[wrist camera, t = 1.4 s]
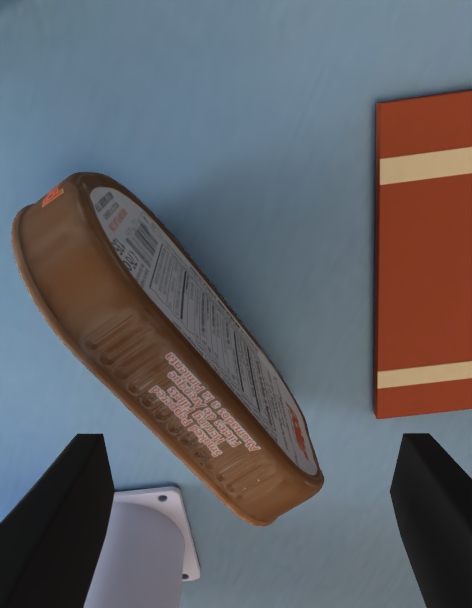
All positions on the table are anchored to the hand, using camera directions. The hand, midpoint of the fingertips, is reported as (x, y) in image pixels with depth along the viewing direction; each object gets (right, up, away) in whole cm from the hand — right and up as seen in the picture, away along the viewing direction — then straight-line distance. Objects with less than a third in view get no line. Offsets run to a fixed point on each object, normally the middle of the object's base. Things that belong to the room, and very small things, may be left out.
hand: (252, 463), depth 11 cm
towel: (+9, +5, +9) cm, 14 cm away
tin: (-2, +4, +10) cm, 11 cm away
